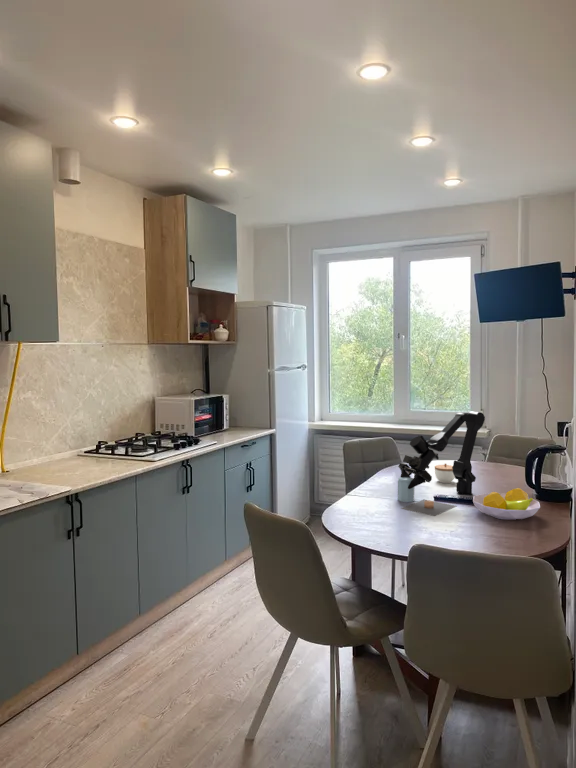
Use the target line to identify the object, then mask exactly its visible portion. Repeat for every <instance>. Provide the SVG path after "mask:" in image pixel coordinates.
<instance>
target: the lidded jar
mask: <svg viewBox="0 0 576 768" xmlns="http://www.w3.org/2000/svg"><path fill="white" fill-rule="evenodd" d="M452 467H453V465H451V464H447V463H444V464H436V465H435V466H434V475H435V478H436V479H437V481H438V482H439V483H442V484H451V483H452V482H453V480H455V476H454V474H453V469H452Z"/></svg>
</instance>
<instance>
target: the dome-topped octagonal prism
mask: <svg viewBox="0 0 576 768" xmlns="http://www.w3.org/2000/svg"><path fill="white" fill-rule="evenodd" d="M413 478H414V477H411V476H410V477H401V476H400V477H398V478H397V479H398V480H397V501H398V502H399V501H400V502H401V503H403V502H404V503H412V502H414V501H415V487H413V488H411V489H408V486H409V484H410V483H411V481H412V480H413Z"/></svg>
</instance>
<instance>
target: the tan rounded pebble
mask: <svg viewBox="0 0 576 768" xmlns="http://www.w3.org/2000/svg"><path fill="white" fill-rule="evenodd" d="M425 500H426V501H424V507H425V508H428V509H432V508H434V502H435V501H434V500H429V499H425Z"/></svg>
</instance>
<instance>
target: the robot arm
mask: <svg viewBox="0 0 576 768" xmlns="http://www.w3.org/2000/svg"><path fill="white" fill-rule="evenodd" d="M485 420H486V416H485V415H484V413H483V412H479V411H473V410H471V411H470V410H469V411H468V412H457V413H455V414H454V417H453V418H452V419H451V420H450V421H449V422H448V423H447V424H446V425H445V427H444V428H443V429H442V430H441V431H440V432H438V433H436V434H434V435H433V436H432V437H429V439H428V440H426V439H425V438H424V435H420V434H418V436H416V437H414V438H412V439H411V440H410V442H409V445H410V447H411V448H412V449H413V450H414V451H415V453H417V454H418V455H419V456H415V455H414V456H410V455H407V454H405V455H404V457H403V460H402V462H400V463H399V464H398V466H397V467H398V468H399V470H400V472H401V473H400V477H410V478H411V475H412V474H414V475H413V477H412V478H413V480H412V481H411V483H410V484H409V486H408V489H411V488H413V487H414V488H415V487H417V486H419V485H421V484H425V483H426V482H427V483H430V482H431V481H432V480H433V479H432V478H433V477H432V475H431V474H430V473H429V472H428V471H427V469H428V470H429V469H430V464H431V463H432V461H434V459H435V460H439V458H440V457H439V452H444V451H445V449H446V448H447V446H448V444H449V441H450V438H452V437H453V435H454V434H455V433H456V432H457V431H458V430H459V428H460V427H461V426H462V425H464V423H465V426H466V431H465V436H464V439H463V444H462V448H461V451H460V454H459V458H458V459H457V460H454V461H453V464H452V466H453V467H452V469H453V474H454V476H455V478H454V480H457V482H456V486H455V489H456V493H457V495H467V496H473V483H474V482H475V481H476V479H477V477H476V475H474V474H473V472H472V471H473V470H472V468H473V466H472V461H471V460H472V455H473V452H474V447H475V443H476V439H477V435H478V432H479V431H480V429H481V428H482V427H483V425H484V422H485ZM437 452H438V453H437Z"/></svg>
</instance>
